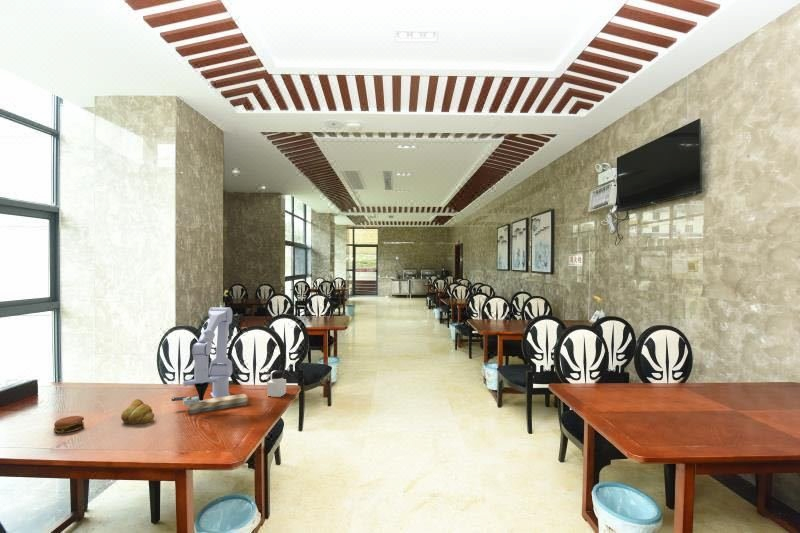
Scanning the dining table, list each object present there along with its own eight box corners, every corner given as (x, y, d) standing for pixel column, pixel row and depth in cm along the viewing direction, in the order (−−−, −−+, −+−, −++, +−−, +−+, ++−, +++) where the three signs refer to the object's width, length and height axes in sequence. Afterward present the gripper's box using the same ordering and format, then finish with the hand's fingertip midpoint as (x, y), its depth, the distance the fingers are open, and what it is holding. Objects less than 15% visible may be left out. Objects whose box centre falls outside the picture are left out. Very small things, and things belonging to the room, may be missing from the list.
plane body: (190, 413, 183) (190, 405, 183) (188, 409, 189) (188, 401, 189) (247, 404, 196) (247, 397, 196) (244, 400, 201) (244, 393, 202)
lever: (197, 405, 192) (197, 394, 192) (197, 406, 191) (197, 395, 191) (171, 408, 188) (171, 397, 188) (171, 409, 186) (171, 398, 186)
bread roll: (160, 420, 175) (160, 400, 175) (137, 428, 166) (138, 407, 166) (138, 416, 180) (138, 397, 180) (115, 423, 171) (116, 403, 171)
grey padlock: (286, 393, 215) (286, 369, 215) (281, 397, 208) (281, 372, 208) (272, 392, 215) (272, 369, 216) (267, 396, 208) (267, 372, 208)
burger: (50, 430, 164) (51, 418, 164) (79, 423, 171) (80, 412, 171) (57, 436, 158) (57, 424, 158) (87, 429, 165) (87, 417, 165)
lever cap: (182, 403, 186) (182, 396, 186) (197, 400, 190) (197, 394, 190) (184, 406, 182) (183, 399, 182) (199, 403, 186) (199, 396, 186)
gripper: (184, 373, 181) (183, 405, 181) (220, 369, 189) (220, 399, 189) (182, 370, 187) (182, 400, 187) (217, 366, 195) (217, 395, 195)
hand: (201, 400), depth 188 cm, fingers closed
